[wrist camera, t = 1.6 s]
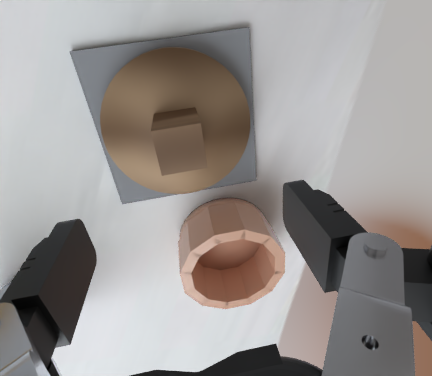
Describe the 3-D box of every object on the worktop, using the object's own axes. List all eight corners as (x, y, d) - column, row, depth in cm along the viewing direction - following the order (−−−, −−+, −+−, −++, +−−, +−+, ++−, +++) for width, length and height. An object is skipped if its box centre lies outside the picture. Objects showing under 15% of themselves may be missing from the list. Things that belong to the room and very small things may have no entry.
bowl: (171, 207, 25) (172, 243, 21) (266, 190, 26) (285, 221, 22) (187, 275, 30) (191, 316, 26) (268, 259, 31) (284, 296, 26)
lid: (79, 59, 18) (52, 68, 14) (242, 36, 19) (264, 37, 15) (126, 198, 24) (117, 235, 19) (250, 176, 25) (268, 206, 20)
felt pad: (71, 51, 18) (69, 51, 18) (247, 27, 19) (249, 27, 19) (123, 201, 24) (122, 204, 24) (255, 178, 25) (256, 180, 25)
